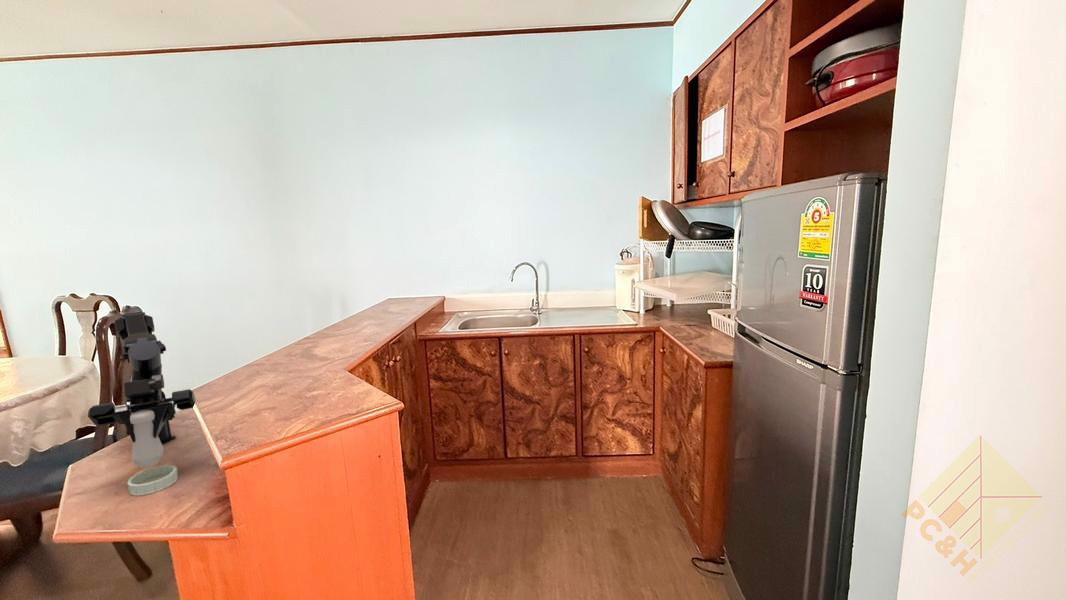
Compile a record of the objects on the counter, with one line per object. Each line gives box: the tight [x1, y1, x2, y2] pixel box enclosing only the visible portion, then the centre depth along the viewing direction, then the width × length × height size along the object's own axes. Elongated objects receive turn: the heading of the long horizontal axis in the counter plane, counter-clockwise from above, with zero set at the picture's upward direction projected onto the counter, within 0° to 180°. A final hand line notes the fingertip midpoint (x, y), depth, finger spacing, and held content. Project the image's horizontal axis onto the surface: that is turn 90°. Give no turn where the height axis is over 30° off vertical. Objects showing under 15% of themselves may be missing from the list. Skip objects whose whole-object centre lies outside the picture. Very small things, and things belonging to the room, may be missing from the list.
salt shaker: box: [130, 410, 165, 468], centre depth 100 cm, size 6×6×13 cm
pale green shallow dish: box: [126, 464, 179, 497], centre depth 101 cm, size 9×9×2 cm
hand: (144, 439), depth 99 cm, fingers closed on salt shaker, 3 cm apart
